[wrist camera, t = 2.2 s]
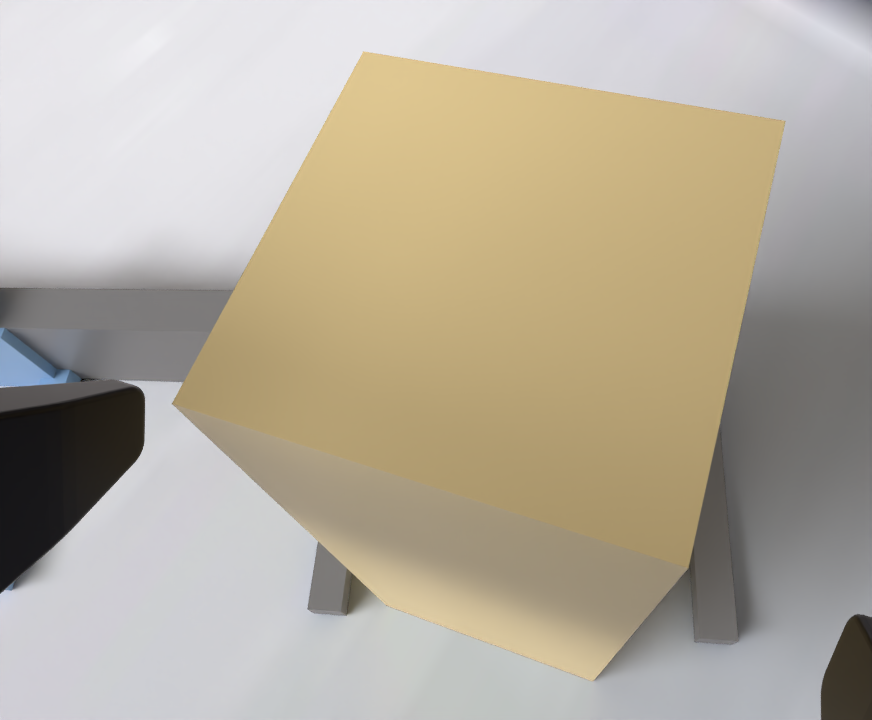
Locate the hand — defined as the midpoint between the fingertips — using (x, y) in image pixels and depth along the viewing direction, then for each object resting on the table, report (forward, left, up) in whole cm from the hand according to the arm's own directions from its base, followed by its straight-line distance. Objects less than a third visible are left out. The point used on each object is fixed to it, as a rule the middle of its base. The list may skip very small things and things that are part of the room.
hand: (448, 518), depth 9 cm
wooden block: (+2, -1, -9) cm, 10 cm away
